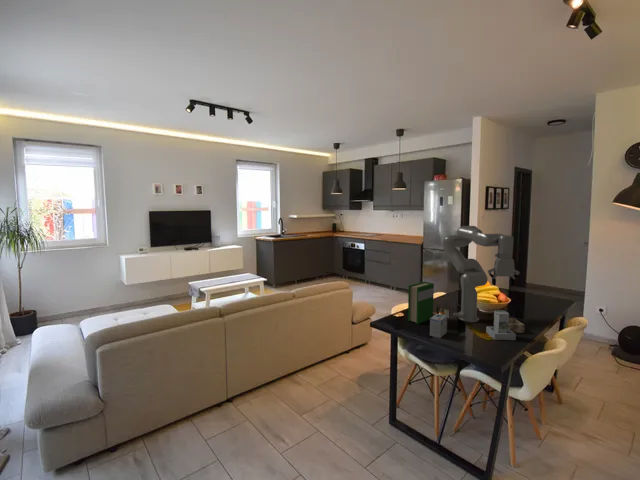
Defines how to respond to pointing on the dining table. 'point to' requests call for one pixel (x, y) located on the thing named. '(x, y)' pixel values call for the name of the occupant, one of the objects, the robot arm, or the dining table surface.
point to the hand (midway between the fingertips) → (502, 285)
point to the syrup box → (501, 322)
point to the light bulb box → (438, 325)
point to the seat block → (501, 334)
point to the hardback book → (420, 302)
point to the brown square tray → (516, 326)
